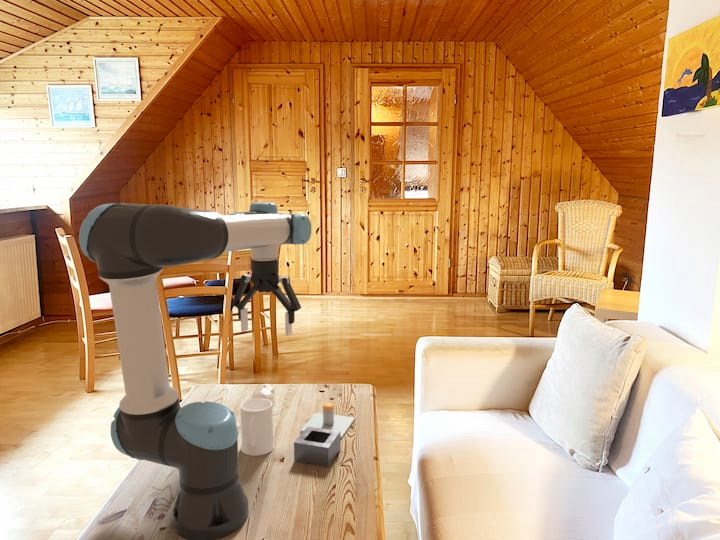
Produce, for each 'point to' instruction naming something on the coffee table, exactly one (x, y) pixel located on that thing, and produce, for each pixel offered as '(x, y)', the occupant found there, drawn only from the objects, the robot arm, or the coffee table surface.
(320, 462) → the hollow square block
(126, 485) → the coffee table surface
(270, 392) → the figurine
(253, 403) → the mug
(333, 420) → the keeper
